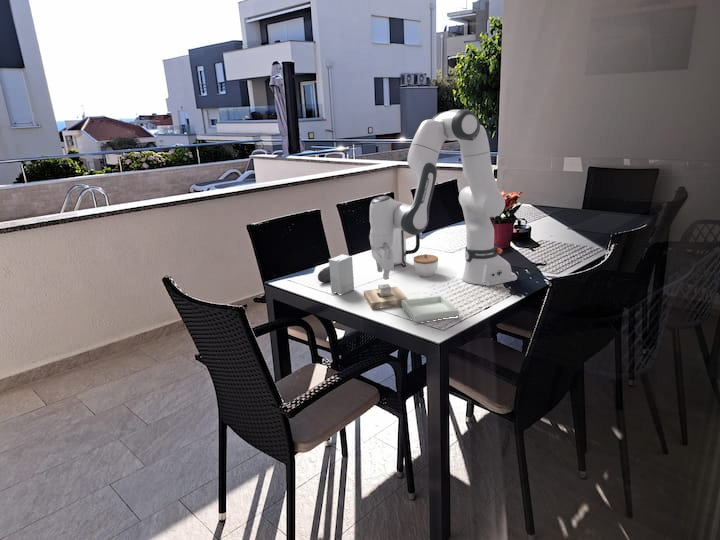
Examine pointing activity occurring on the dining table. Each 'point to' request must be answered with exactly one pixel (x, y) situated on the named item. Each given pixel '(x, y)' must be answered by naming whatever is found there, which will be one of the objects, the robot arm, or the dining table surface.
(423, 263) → the lidded jar
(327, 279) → the perforated stone tool
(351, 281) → the skincare box
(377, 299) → the socket block
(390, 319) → the dining table surface
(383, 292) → the pin
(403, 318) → the dining table surface
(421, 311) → the tray
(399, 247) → the coffee press
